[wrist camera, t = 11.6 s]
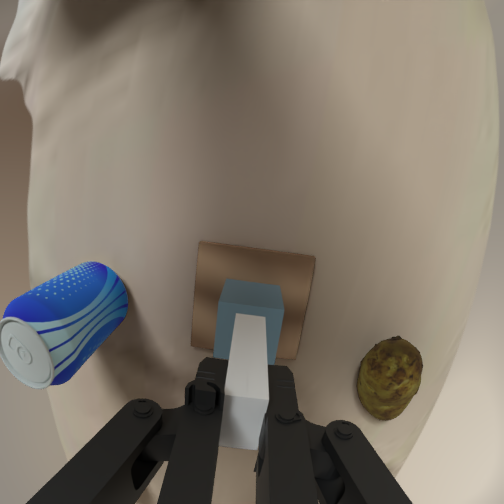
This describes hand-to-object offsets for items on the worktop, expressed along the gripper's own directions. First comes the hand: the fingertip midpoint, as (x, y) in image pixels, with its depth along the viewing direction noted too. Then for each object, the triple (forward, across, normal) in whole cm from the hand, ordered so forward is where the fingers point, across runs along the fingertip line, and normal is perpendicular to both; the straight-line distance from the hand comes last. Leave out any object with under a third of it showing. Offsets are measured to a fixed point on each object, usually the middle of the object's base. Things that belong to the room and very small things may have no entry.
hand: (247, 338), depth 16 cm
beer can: (+18, -17, -7) cm, 26 cm away
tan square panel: (+18, 0, -5) cm, 19 cm away
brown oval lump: (+18, +18, -12) cm, 28 cm away
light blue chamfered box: (+17, 0, -6) cm, 18 cm away
